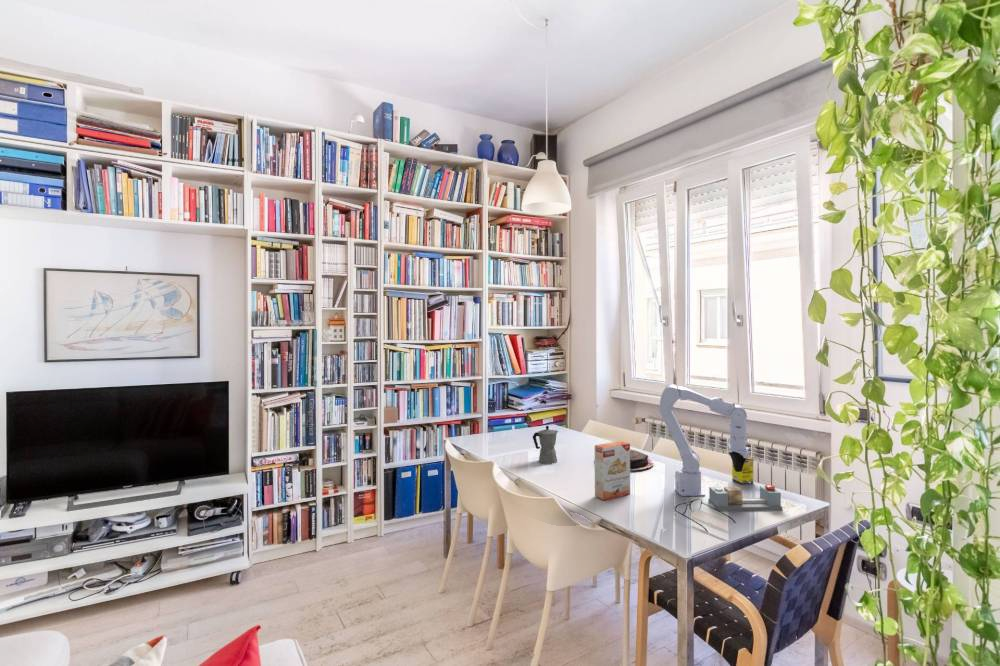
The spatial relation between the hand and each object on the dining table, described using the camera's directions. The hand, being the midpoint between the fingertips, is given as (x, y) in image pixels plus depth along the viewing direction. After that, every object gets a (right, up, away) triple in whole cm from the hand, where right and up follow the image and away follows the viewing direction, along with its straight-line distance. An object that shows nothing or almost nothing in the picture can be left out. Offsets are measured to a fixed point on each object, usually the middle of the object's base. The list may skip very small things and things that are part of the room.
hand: (738, 471), depth 188 cm
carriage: (-6, -9, -8) cm, 13 cm away
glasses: (-21, -12, -20) cm, 31 cm away
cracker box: (-48, -12, +6) cm, 49 cm away
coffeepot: (-70, -11, +53) cm, 89 cm away
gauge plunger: (+8, -7, -8) cm, 13 cm away
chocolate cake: (-32, -11, +48) cm, 59 cm away
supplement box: (+11, -10, +18) cm, 23 cm away
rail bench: (-2, -11, -8) cm, 13 cm away
